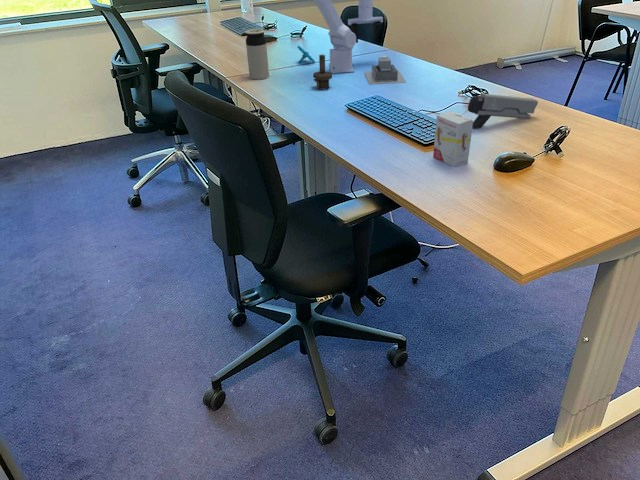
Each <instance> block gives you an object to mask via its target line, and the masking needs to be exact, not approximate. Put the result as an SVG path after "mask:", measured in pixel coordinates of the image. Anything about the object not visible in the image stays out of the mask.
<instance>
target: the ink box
mask: <svg viewBox="0 0 640 480" xmlns="http://www.w3.org/2000/svg"><path fill="white" fill-rule="evenodd" d="M435 121H436V122H435V134H434V145H433V156H432V157H433V158H435V159H437V160H439V161H441V162H443V163H445V164H448V165H450V166H452V167H453V168H457V167H459V166H462V165H465V164H468V163H469V155H470V149H471V140H472V135H473V134H472V133H473V128H472V126H473V122H474V120H473V119H472V118H470V117H468V116H466V115H463V114H460V113H458V112H455V111H453V110H452V111H446V112H444V113H440V114H437V115H436V120H435Z"/></svg>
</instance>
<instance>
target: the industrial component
mask: <svg viewBox="0 0 640 480" xmlns="http://www.w3.org/2000/svg"><path fill="white" fill-rule="evenodd" d="M318 56H319V57H318V58H319V60H318V61H319V71H315V72H313V74H312V76H313V77H312V78H313V81H314V82H315V83H316V89H317V90H326V89H329V87H330V80H332V78H333V73H331V71H328V70H327V71H326V55H325V54H319V55H318Z"/></svg>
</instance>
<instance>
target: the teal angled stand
mask: <svg viewBox="0 0 640 480" xmlns="http://www.w3.org/2000/svg"><path fill="white" fill-rule="evenodd" d="M297 48H298V50H299V51H300V52H301V53H302V57H301V58H300V59H299V60H298V62H297V63H298V64H299V63H300V64H301V63H302V62H303V61H304V60H305V59H306V58H307V59H308V60H309V61H310V62H311V63H313V64H315V63H314V62H316V61H315V59H314V58H313V57H312V56H311V55H310V54H309V52H308V51H305V50H304V48H302V47H301V46H300V45H297Z"/></svg>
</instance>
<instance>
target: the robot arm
mask: <svg viewBox="0 0 640 480" xmlns="http://www.w3.org/2000/svg"><path fill="white" fill-rule="evenodd" d="M313 1H314V4H315V5H316V7H317V8H318V10H319V13H320V14H321V15H322V17H323V19H324V21H325V23H326V25H327V26H328V28H329V31H328V36H329V39H330V44H331V45H332V47H333V48H329V62H328V63H329V64H328V67H329V70H330V71H329V72H331V73H332V74H338V73H340V74H341V73H343V74H344V73H354V72H355V70H354V68H353V49H354V47H355V46H356V44H358V43H359V26H358V25H360V24H361V25H362V24H372V25H371V27H372V42H376V40H377V36H378V33H379V31H380V29H381V27H382V23H383V22H384V17H383V16H373V6H374V5H373V4H374V3H373V0H358V17H355V18H348V19H347V25H345V23H344V22H343V21H342V19H341V17H340V15H339V13H338V11H337V9H336V8H335V6H334V3H333V2H332V0H313ZM349 26H350V28H349Z"/></svg>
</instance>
